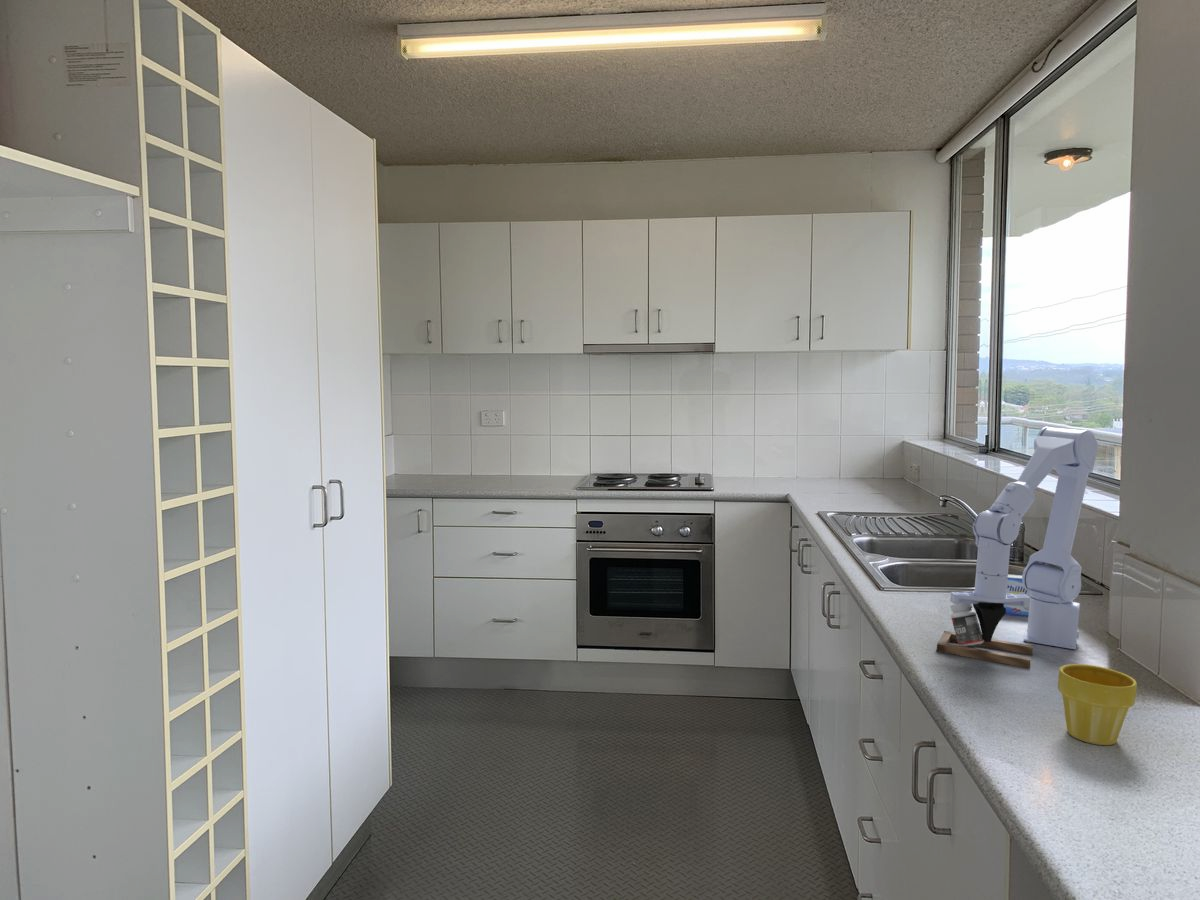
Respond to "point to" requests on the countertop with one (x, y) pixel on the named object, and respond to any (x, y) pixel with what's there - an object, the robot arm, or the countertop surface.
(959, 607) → the pill bottle
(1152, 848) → the countertop surface
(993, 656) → the walnut guide channel
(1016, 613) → the medicine box
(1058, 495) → the robot arm
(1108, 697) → the plant pot
